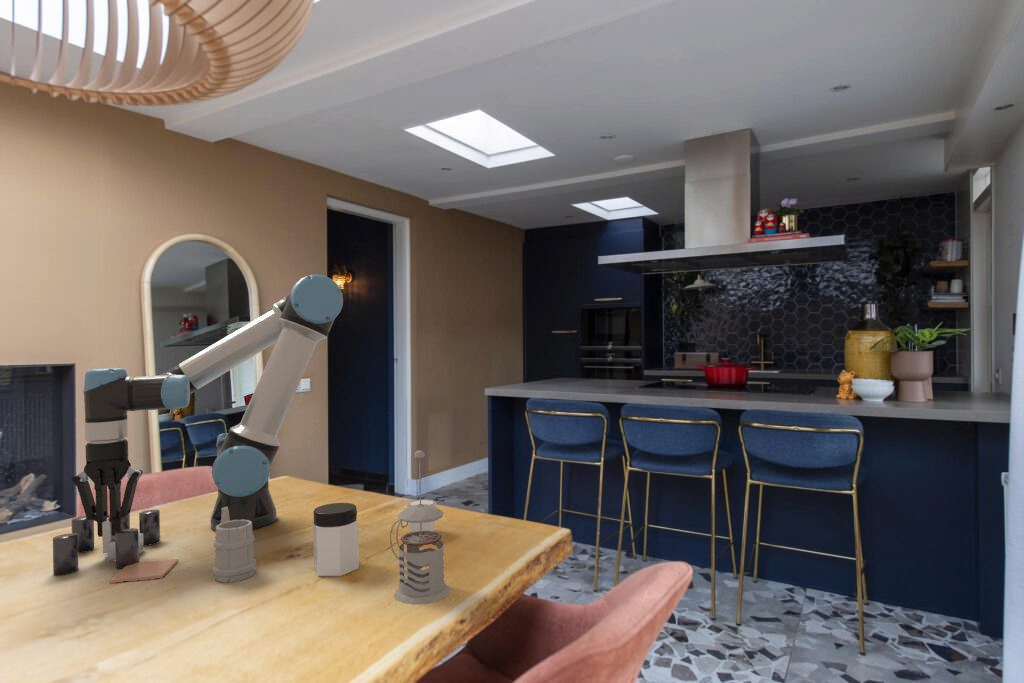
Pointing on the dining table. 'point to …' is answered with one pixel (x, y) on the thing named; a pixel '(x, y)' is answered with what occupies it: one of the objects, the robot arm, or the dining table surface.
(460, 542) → the dining table surface
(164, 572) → the coaster
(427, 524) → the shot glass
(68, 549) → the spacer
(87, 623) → the dining table surface
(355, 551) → the jar
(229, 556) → the mug
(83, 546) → the cylinder
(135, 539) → the cylinder
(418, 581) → the french press
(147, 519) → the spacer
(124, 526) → the cylinder
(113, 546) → the nut
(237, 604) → the dining table surface
